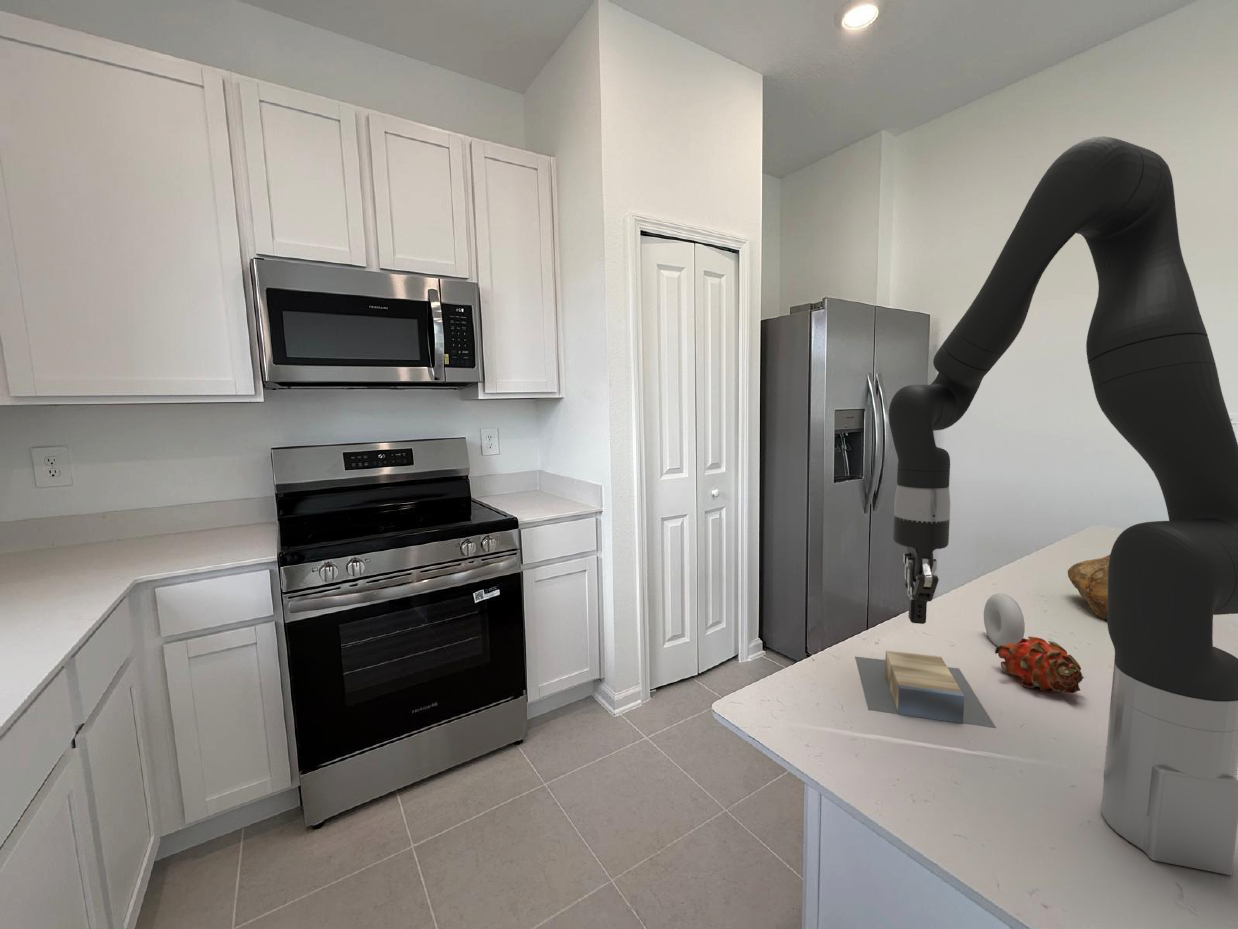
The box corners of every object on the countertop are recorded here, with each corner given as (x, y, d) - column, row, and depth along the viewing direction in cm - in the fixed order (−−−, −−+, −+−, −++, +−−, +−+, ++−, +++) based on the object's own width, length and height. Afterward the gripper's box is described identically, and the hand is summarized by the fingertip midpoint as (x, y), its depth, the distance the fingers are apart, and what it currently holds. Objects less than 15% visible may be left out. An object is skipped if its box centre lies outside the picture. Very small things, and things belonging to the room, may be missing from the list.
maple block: (939, 680, 85) (962, 723, 74) (884, 673, 88) (898, 714, 76) (941, 656, 85) (964, 696, 73) (885, 650, 87) (900, 688, 76)
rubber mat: (996, 732, 73) (996, 727, 73) (868, 713, 78) (868, 709, 78) (958, 671, 89) (958, 668, 89) (854, 659, 94) (854, 656, 94)
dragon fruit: (1084, 720, 78) (997, 692, 89) (1106, 675, 81) (1019, 653, 92) (1059, 681, 76) (974, 657, 87) (1083, 636, 79) (997, 618, 90)
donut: (1027, 661, 92) (1031, 605, 91) (1004, 659, 93) (1008, 604, 92) (998, 636, 102) (1001, 585, 101) (978, 635, 102) (981, 585, 101)
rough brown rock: (1084, 590, 126) (1081, 528, 125) (1185, 605, 113) (1183, 536, 112) (1049, 618, 113) (1046, 549, 112) (1159, 639, 99) (1156, 560, 98)
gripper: (962, 524, 75) (956, 642, 77) (937, 507, 87) (933, 608, 89) (902, 522, 77) (898, 636, 79) (887, 505, 90) (884, 604, 92)
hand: (916, 621), depth 84 cm, fingers closed
